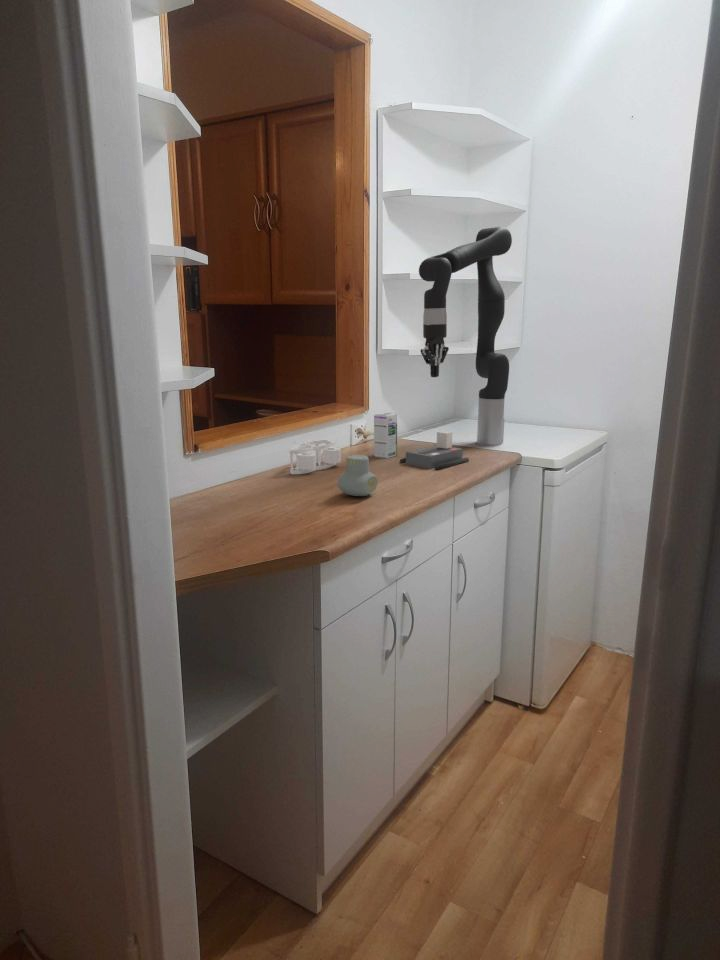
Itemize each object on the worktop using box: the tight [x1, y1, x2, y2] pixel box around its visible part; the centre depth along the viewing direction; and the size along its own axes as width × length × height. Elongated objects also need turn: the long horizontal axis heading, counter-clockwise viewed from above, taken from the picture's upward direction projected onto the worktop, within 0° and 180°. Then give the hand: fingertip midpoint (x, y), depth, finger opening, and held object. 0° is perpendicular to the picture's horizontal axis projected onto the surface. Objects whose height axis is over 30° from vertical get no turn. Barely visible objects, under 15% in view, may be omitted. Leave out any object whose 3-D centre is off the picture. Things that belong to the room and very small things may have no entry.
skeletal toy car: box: [289, 439, 342, 475], centre depth 210 cm, size 20×11×7 cm, turn 139°
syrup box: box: [373, 412, 398, 459], centre depth 227 cm, size 6×6×14 cm
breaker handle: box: [435, 430, 453, 449], centre depth 221 cm, size 3×4×5 cm
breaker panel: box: [405, 444, 464, 470], centre depth 219 cm, size 17×10×4 cm, turn 137°
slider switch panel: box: [399, 457, 470, 471], centre depth 219 cm, size 17×15×1 cm
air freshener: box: [337, 454, 379, 497], centre depth 180 cm, size 11×8×10 cm
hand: (434, 376), depth 223 cm, fingers closed
